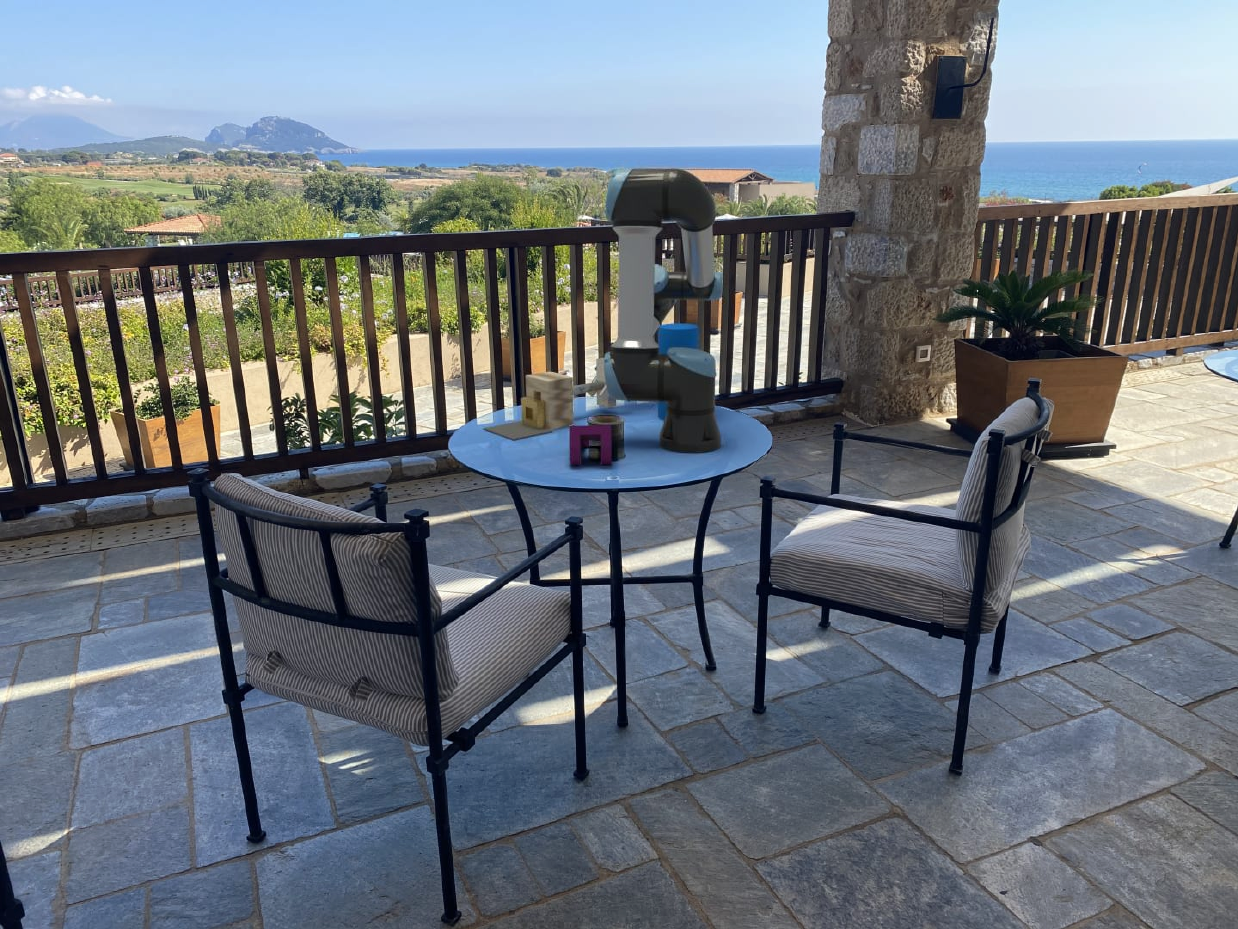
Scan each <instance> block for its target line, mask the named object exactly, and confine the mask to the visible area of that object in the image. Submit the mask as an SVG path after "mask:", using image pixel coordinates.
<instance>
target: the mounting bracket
mask: <svg viewBox="0 0 1238 929" xmlns="http://www.w3.org/2000/svg"><path fill="white" fill-rule="evenodd" d="M568 427H569V434H568V436H569V465H570V466H581V464H582V448H589V447H588V446H589V440H593V441H601V447H600V465H601V466H611V465H612V464H613V463H612V460H613V458H612V425H611V424H605V425H603V424H602V425H601V424H595V425H591V424H590V425H588V424H586V425H584V424H583V425H572V426H568Z"/></svg>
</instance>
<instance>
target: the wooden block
mask: <svg viewBox="0 0 1238 929" xmlns="http://www.w3.org/2000/svg"><path fill="white" fill-rule="evenodd" d="M573 380H574V378H573V376H569V375H566V374H561V373H557V372H553V371H543V372H539V373H533V374H526V375H525V390H526V392H525V393H526V394H525V395H526V396H525V397H528V396H529V397H532V398H535V399H539V400H542V401H544V406H545V429H548V430H551V431H553V430H558V429H561V428H562V427H563V428H566V427H565V426H568V427H569V425H572V424H575V421H574V395H573V386H574V381H573ZM572 426H573V425H572ZM563 428H562V429H563Z"/></svg>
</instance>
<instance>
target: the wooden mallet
mask: <svg viewBox="0 0 1238 929" xmlns="http://www.w3.org/2000/svg"><path fill="white" fill-rule="evenodd" d="M595 362H596V364H595V365H596V366H595V367H596V370H595V371H596V374H595V376H596V381H597V382H593V383H592V382H589V383H583V384H579V385H578V384H577V385H573V396H575V395H580V394H581V395H582V394H588V393H587V392H592V391H597V392H596V405H597V406H600V407H603V408H607V409H609V408H614V407H616V406H617V400H615V399H613V398H612V397H611V396H609V398H608V399H607V400H606V401H605V400H604V399H603V398H602V397H601V396H600V395H599V394H600V393H601V391H602V390H603V388H604V387H605V385H606V382H605V374H604V358H602V357H601V358H596V360H595Z"/></svg>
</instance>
